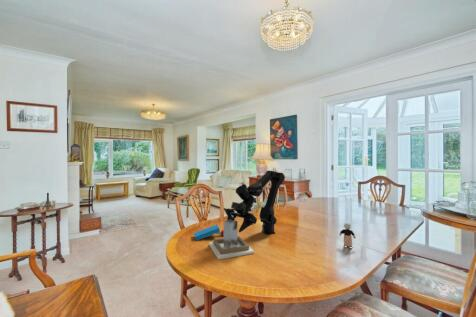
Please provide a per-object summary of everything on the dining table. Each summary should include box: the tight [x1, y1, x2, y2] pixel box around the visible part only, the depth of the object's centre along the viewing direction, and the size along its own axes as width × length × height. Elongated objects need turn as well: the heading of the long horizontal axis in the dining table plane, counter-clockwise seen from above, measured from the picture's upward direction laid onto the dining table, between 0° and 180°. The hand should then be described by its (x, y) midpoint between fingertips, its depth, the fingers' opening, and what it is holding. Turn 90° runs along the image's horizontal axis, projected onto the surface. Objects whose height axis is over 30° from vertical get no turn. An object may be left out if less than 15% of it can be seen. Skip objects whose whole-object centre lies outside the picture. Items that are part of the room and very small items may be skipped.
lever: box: [193, 224, 224, 241], centre depth 132 cm, size 7×7×18 cm
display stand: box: [208, 235, 255, 260], centre depth 115 cm, size 18×18×3 cm
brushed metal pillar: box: [223, 219, 238, 248], centre depth 114 cm, size 5×5×13 cm
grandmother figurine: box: [338, 222, 357, 248], centre depth 117 cm, size 8×4×13 cm, turn 71°
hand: (232, 229), depth 116 cm, fingers open, 9 cm apart
